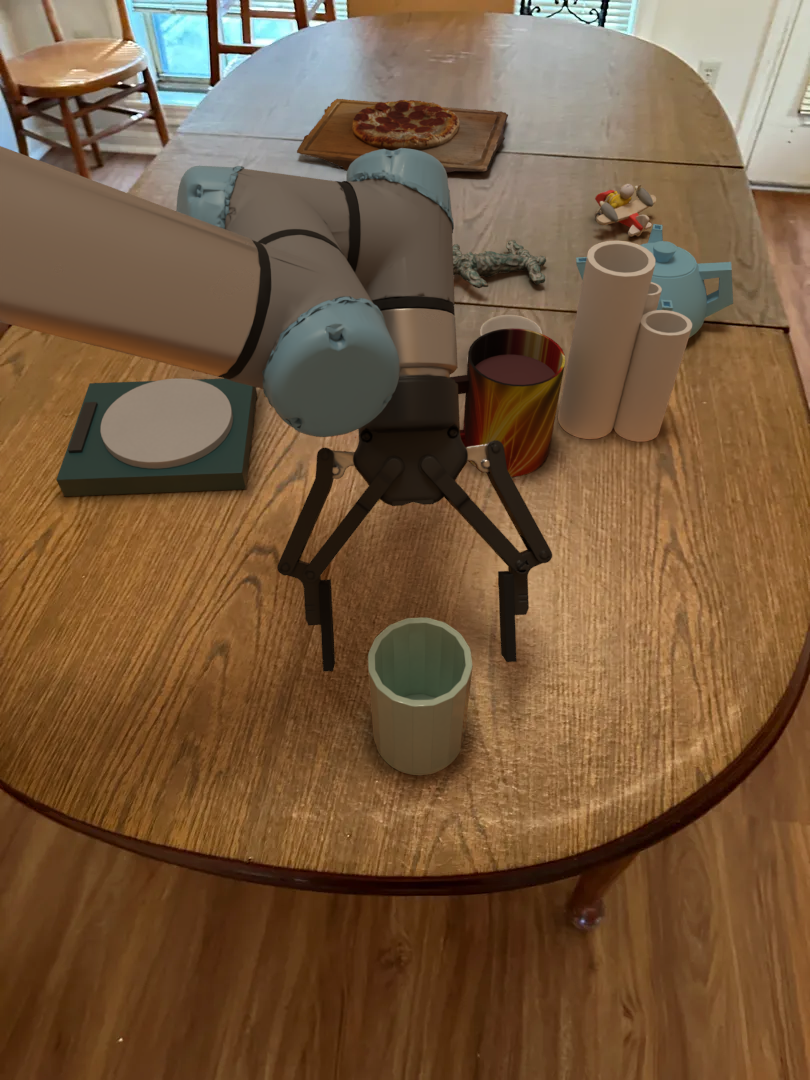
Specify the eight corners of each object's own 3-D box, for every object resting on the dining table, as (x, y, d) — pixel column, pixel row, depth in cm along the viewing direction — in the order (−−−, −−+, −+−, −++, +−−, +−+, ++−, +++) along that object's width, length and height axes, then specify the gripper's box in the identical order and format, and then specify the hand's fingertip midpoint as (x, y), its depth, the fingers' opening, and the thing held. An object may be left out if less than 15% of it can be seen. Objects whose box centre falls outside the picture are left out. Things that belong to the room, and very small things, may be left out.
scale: (64, 496, 82) (52, 472, 80) (95, 400, 93) (86, 376, 90) (245, 489, 83) (240, 465, 80) (257, 394, 93) (252, 370, 91)
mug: (414, 455, 86) (414, 365, 77) (509, 407, 91) (520, 317, 82) (470, 506, 81) (477, 416, 72) (567, 452, 86) (585, 362, 77)
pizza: (511, 116, 148) (513, 95, 145) (495, 182, 129) (497, 160, 127) (330, 104, 152) (329, 83, 149) (290, 167, 134) (288, 144, 131)
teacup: (485, 333, 101) (488, 301, 98) (559, 353, 98) (564, 320, 95) (454, 376, 95) (455, 343, 92) (531, 399, 92) (536, 366, 89)
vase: (559, 438, 88) (590, 275, 73) (555, 397, 93) (583, 237, 77) (661, 442, 87) (714, 279, 72) (652, 401, 92) (700, 240, 77)
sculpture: (400, 269, 111) (404, 235, 108) (523, 262, 117) (531, 229, 113) (426, 311, 104) (431, 276, 101) (556, 302, 110) (565, 268, 106)
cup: (374, 777, 62) (369, 708, 53) (372, 695, 67) (367, 619, 58) (468, 773, 62) (477, 703, 54) (459, 690, 67) (466, 615, 58)
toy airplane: (592, 211, 123) (599, 170, 118) (651, 216, 122) (661, 174, 117) (590, 240, 117) (598, 198, 112) (653, 245, 116) (663, 202, 111)
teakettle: (646, 373, 96) (668, 294, 87) (561, 316, 104) (574, 239, 95) (729, 330, 101) (757, 253, 93) (642, 280, 109) (661, 204, 101)
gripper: (562, 379, 62) (570, 644, 63) (245, 392, 61) (261, 660, 63) (587, 364, 55) (596, 665, 56) (227, 379, 54) (245, 683, 55)
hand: (419, 663), depth 59 cm, fingers open, 13 cm apart
